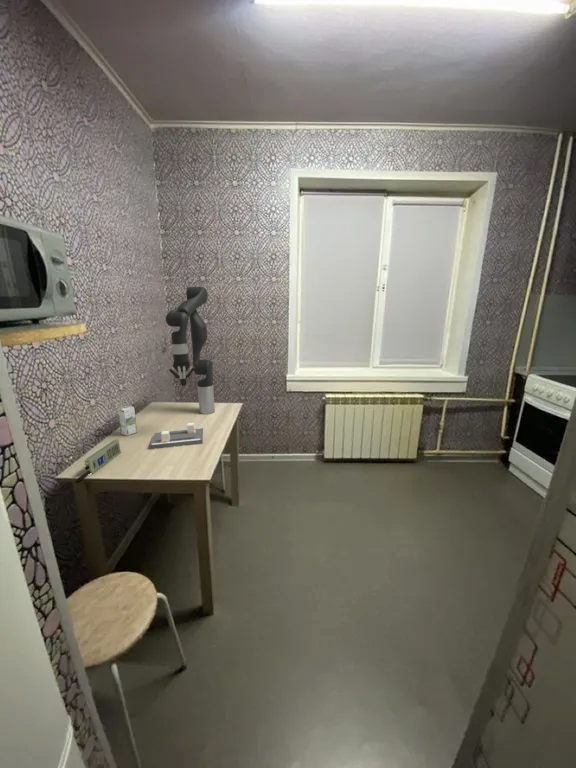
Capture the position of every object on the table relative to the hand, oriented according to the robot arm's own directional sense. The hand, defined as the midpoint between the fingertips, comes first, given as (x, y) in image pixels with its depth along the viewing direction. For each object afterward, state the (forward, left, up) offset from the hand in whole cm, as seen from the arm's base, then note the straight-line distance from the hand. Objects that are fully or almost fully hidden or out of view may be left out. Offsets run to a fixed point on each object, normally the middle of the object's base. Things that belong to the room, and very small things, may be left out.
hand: (183, 385), depth 164 cm
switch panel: (+12, -4, -25) cm, 28 cm away
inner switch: (+8, +2, -23) cm, 24 cm away
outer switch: (+16, -9, -23) cm, 29 cm away
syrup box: (-4, -30, -25) cm, 39 cm away
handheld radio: (+31, -34, -25) cm, 52 cm away
